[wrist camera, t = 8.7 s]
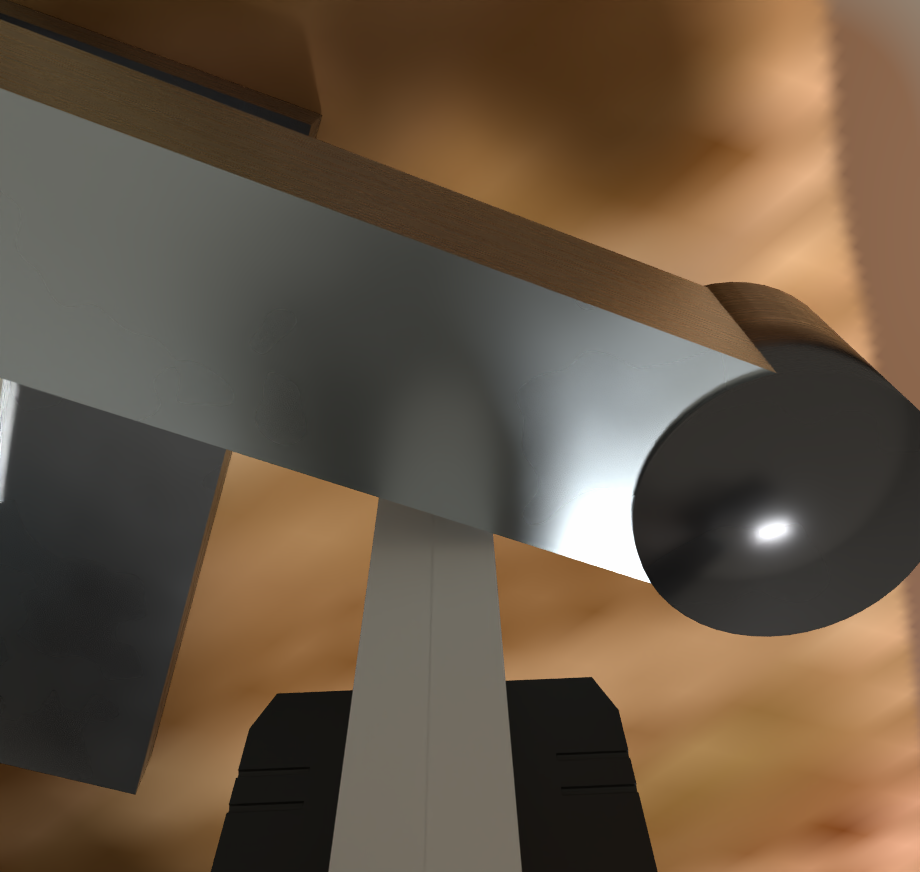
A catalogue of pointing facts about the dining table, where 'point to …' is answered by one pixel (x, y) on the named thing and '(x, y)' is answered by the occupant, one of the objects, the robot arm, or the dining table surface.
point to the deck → (101, 531)
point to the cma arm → (441, 350)
